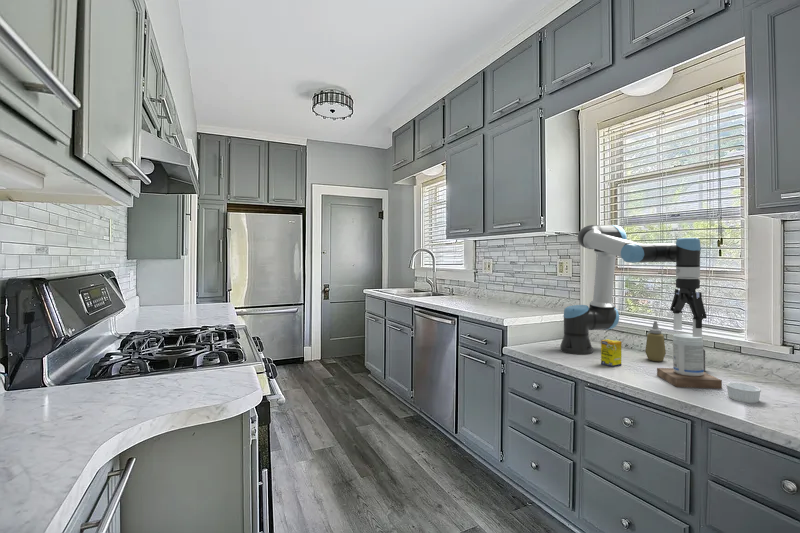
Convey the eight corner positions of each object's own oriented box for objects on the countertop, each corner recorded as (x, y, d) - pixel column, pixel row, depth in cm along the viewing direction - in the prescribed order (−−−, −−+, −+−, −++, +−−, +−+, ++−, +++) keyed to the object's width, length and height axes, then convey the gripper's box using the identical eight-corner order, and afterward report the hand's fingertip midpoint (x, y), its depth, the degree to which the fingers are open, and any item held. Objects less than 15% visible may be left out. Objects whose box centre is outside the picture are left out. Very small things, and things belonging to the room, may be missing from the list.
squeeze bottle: (662, 363, 180) (662, 323, 179) (642, 360, 186) (642, 321, 185) (668, 360, 185) (668, 321, 185) (648, 357, 191) (648, 319, 191)
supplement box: (600, 364, 179) (600, 340, 179) (609, 362, 182) (609, 338, 182) (613, 367, 174) (613, 342, 174) (621, 365, 177) (621, 341, 177)
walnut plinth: (657, 375, 162) (657, 367, 162) (697, 376, 159) (697, 369, 159) (676, 387, 147) (676, 378, 147) (721, 388, 145) (721, 380, 145)
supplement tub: (708, 374, 152) (708, 336, 152) (697, 378, 147) (697, 339, 147) (679, 368, 160) (679, 332, 160) (668, 372, 155) (668, 335, 155)
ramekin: (750, 395, 138) (750, 383, 137) (767, 404, 129) (767, 391, 129) (720, 393, 140) (720, 381, 139) (735, 402, 131) (735, 389, 131)
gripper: (661, 276, 165) (660, 326, 166) (695, 280, 141) (694, 339, 142) (681, 276, 164) (680, 327, 165) (719, 280, 140) (718, 340, 140)
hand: (686, 333), depth 153 cm, fingers open, 13 cm apart
